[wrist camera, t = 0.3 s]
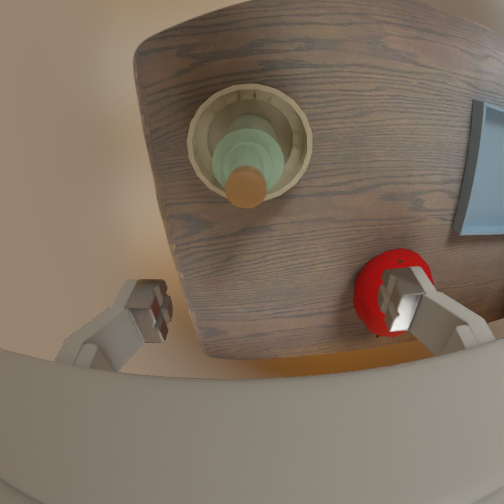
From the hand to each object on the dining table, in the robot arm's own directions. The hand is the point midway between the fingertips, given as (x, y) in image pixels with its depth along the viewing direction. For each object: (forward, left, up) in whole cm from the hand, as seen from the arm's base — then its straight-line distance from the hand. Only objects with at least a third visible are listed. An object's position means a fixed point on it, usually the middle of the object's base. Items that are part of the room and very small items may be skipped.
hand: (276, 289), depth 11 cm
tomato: (+22, +19, -28) cm, 40 cm away
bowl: (0, -1, -28) cm, 28 cm away
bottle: (0, -1, -27) cm, 27 cm away
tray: (+3, +39, -28) cm, 47 cm away
